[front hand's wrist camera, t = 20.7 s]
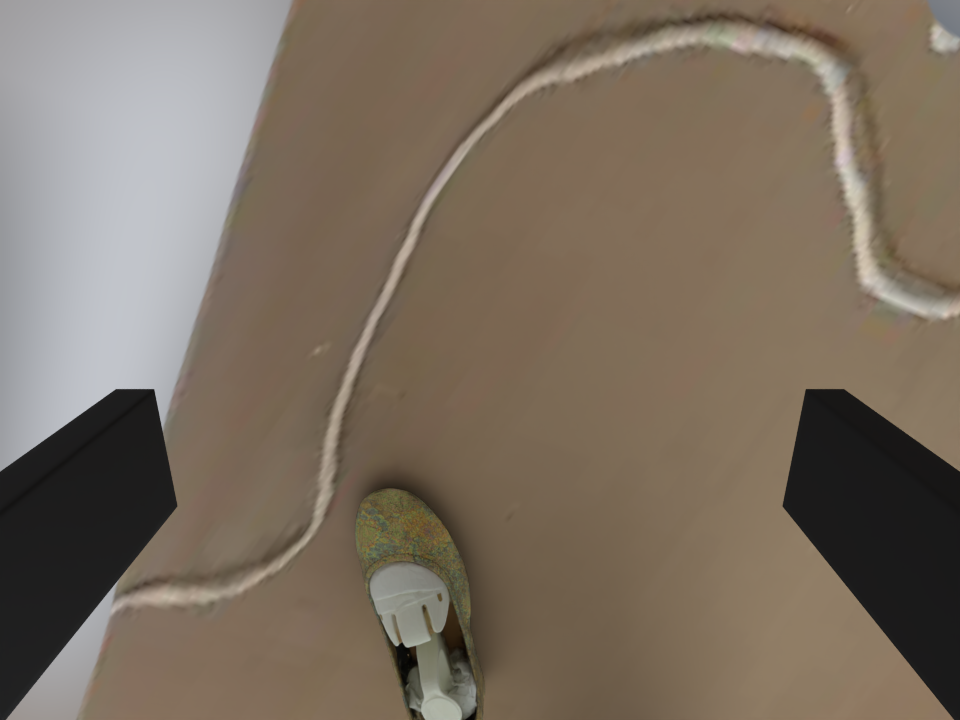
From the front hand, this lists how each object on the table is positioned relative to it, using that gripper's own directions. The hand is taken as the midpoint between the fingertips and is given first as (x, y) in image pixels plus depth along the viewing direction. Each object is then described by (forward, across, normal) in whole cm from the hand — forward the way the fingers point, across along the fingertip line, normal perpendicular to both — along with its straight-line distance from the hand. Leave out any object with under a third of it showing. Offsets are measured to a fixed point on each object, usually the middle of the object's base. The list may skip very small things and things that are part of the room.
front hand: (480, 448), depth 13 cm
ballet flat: (+32, -4, -32) cm, 46 cm away
